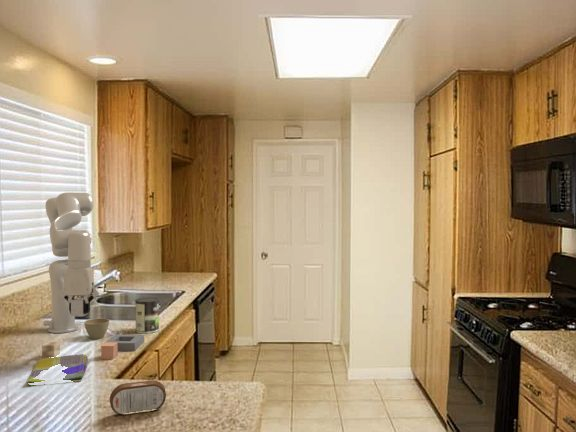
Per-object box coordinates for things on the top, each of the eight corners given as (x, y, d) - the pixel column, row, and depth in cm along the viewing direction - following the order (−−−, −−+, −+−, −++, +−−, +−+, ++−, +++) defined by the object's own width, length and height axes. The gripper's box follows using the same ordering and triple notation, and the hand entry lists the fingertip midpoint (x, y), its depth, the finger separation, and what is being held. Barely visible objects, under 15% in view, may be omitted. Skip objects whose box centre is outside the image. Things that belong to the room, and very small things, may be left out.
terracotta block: (101, 359, 186) (101, 345, 186) (105, 355, 190) (105, 342, 190) (113, 359, 186) (113, 345, 186) (117, 355, 190) (117, 342, 190)
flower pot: (79, 338, 212) (79, 322, 212) (98, 333, 221) (97, 317, 221) (95, 342, 208) (95, 325, 207) (114, 336, 216) (114, 319, 216)
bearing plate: (104, 350, 196) (104, 342, 196) (115, 341, 208) (115, 334, 208) (134, 350, 196) (134, 343, 196) (144, 341, 208) (144, 334, 208)
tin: (165, 406, 144) (165, 377, 144) (166, 410, 141) (166, 381, 141) (109, 414, 138) (109, 384, 138) (110, 419, 136) (109, 388, 135)
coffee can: (161, 327, 231) (161, 297, 231) (155, 333, 221) (155, 301, 220) (139, 327, 231) (139, 297, 231) (132, 333, 221) (131, 301, 220)
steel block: (71, 316, 186) (70, 300, 185) (76, 313, 190) (76, 297, 190) (83, 316, 186) (82, 300, 185) (88, 313, 190) (88, 297, 190)
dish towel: (23, 389, 158) (23, 380, 158) (37, 364, 181) (37, 356, 181) (83, 383, 163) (83, 374, 163) (89, 360, 186) (89, 352, 186)
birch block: (42, 358, 186) (42, 345, 186) (48, 354, 191) (48, 341, 190) (54, 358, 186) (54, 345, 186) (59, 355, 191) (59, 342, 190)
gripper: (51, 265, 183) (52, 315, 184) (97, 266, 183) (98, 315, 184) (61, 263, 191) (61, 310, 192) (105, 263, 191) (105, 311, 191)
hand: (79, 312), depth 188 cm, fingers closed on steel block, 4 cm apart
